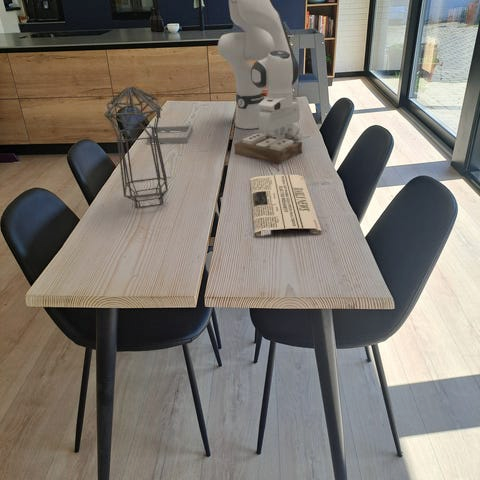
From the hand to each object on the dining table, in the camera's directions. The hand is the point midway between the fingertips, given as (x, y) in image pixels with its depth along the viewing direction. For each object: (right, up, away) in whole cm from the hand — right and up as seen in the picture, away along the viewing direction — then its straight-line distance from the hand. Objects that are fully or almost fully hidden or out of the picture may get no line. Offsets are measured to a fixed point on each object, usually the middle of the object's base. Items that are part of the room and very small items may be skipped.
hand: (280, 139), depth 168 cm
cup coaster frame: (-45, +8, +31) cm, 55 cm away
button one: (-4, -2, +7) cm, 9 cm away
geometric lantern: (-43, -25, -24) cm, 56 cm away
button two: (+1, -4, +3) cm, 5 cm away
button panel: (-4, -4, +8) cm, 10 cm away
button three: (-9, 0, +11) cm, 14 cm away
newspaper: (-2, -27, -31) cm, 42 cm away
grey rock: (+5, +4, +21) cm, 22 cm away
